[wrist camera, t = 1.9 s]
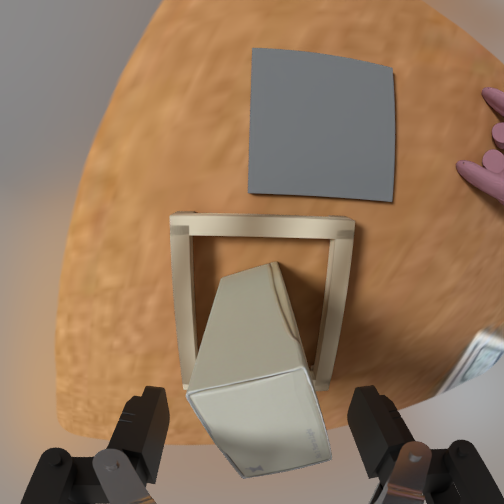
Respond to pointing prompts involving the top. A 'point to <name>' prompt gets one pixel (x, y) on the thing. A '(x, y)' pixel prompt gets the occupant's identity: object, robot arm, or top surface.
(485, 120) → the top surface
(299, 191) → the coaster
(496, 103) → the video game controller
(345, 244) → the wooden rectangular frame
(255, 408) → the skincare box
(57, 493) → the robot arm
